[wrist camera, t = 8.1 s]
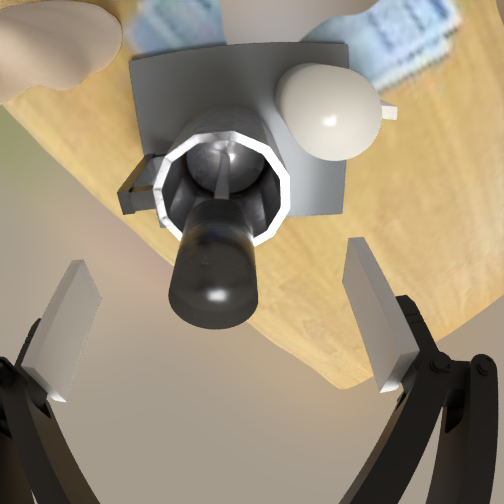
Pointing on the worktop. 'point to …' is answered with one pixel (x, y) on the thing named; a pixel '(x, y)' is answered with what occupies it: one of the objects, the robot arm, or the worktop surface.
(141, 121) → the slate board
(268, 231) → the press carafe
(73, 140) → the worktop surface
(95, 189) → the worktop surface
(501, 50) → the worktop surface
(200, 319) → the plunger
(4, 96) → the water bottle
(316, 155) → the cream mug
